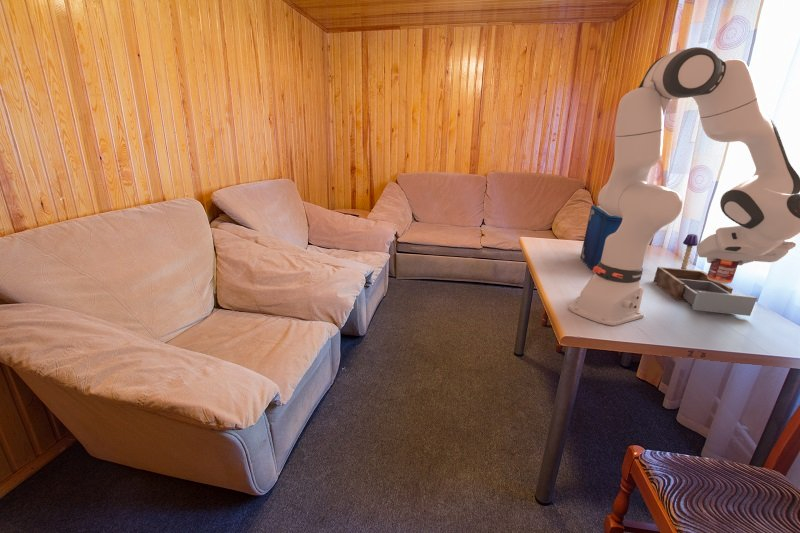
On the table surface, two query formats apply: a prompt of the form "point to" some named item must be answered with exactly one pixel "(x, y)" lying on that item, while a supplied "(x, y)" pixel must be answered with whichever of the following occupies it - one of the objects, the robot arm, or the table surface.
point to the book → (597, 235)
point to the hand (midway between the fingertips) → (723, 262)
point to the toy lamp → (689, 248)
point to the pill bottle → (722, 270)
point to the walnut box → (674, 286)
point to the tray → (716, 298)
